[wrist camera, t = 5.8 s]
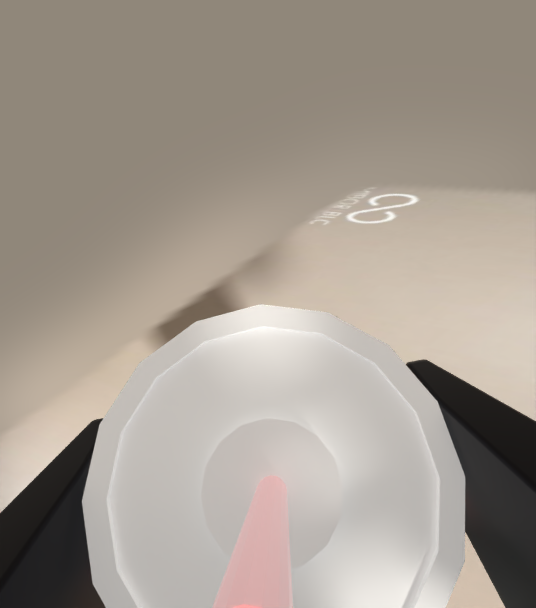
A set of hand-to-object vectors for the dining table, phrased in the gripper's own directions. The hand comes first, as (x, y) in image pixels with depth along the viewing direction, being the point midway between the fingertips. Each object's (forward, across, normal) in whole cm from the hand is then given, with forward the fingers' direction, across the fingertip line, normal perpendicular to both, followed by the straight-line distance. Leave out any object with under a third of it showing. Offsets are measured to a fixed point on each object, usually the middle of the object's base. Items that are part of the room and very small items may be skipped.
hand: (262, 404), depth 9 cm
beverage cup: (+4, 0, +6) cm, 8 cm away
